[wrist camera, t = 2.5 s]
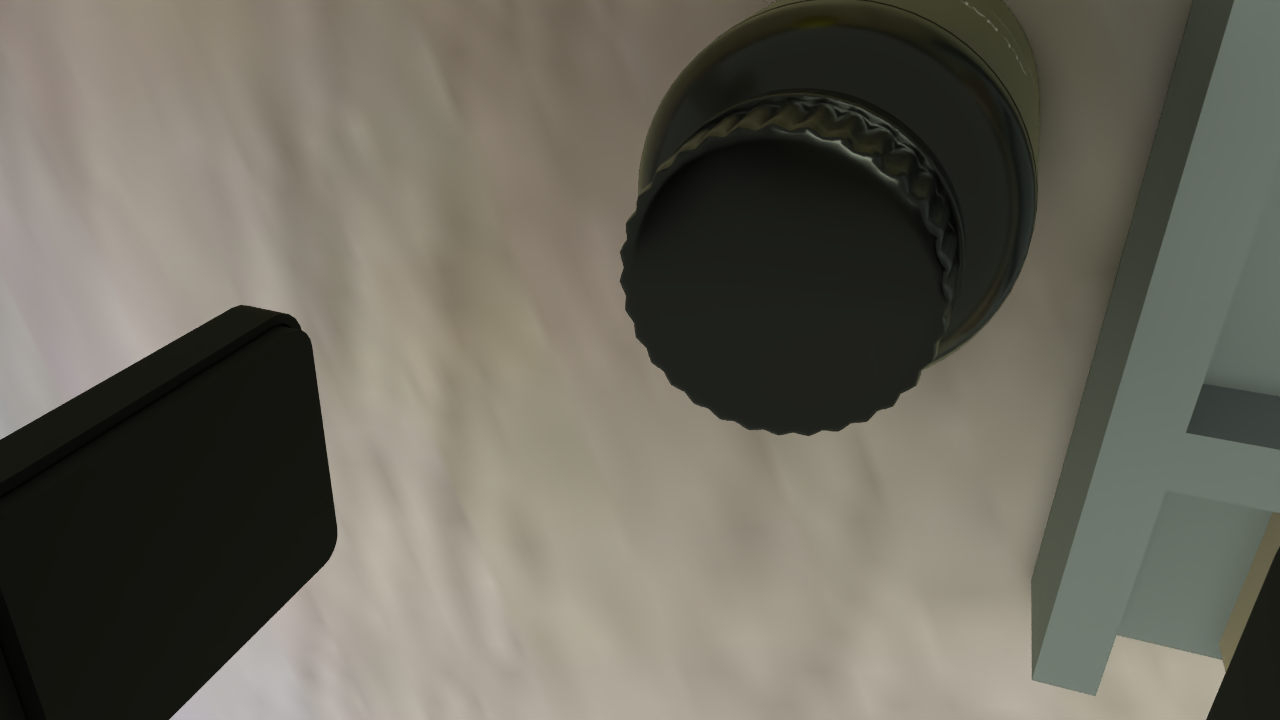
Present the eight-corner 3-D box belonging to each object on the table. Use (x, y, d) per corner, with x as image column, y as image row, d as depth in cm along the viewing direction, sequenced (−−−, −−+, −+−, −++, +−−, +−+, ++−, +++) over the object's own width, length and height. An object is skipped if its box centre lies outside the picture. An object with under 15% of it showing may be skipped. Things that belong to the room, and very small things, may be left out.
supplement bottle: (1061, -53, 21) (1090, 53, 11) (1016, 247, 25) (1008, 538, 14) (747, -52, 23) (537, 39, 13) (743, 225, 27) (571, 465, 17)
